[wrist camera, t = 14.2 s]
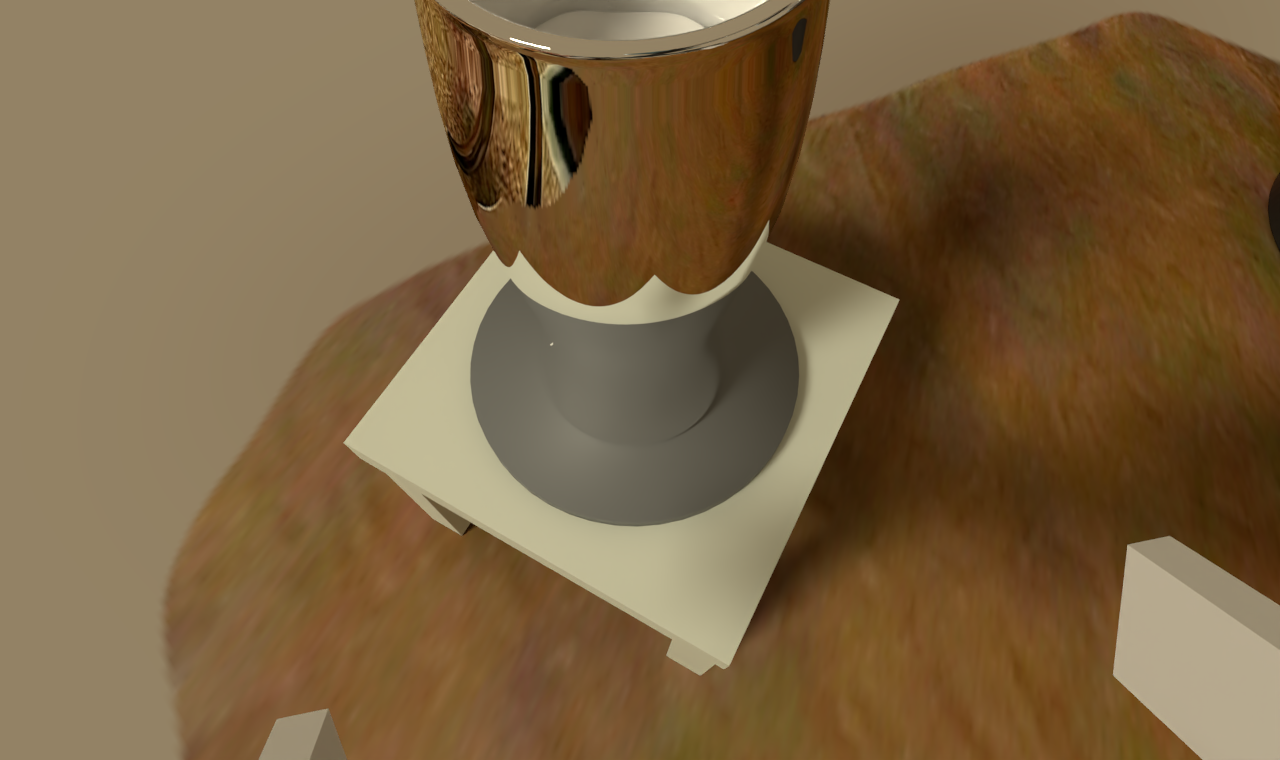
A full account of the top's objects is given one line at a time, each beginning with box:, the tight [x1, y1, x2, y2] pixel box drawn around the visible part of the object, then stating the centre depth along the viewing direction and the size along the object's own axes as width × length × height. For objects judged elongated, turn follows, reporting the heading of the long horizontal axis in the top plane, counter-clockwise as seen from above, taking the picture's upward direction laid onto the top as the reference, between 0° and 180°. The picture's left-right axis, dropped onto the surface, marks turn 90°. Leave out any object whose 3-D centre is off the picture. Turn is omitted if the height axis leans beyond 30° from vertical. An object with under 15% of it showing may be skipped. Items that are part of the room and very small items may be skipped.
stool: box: [344, 242, 899, 676], centre depth 29 cm, size 14×14×11 cm
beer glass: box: [414, 0, 830, 446], centre depth 17 cm, size 7×7×15 cm
